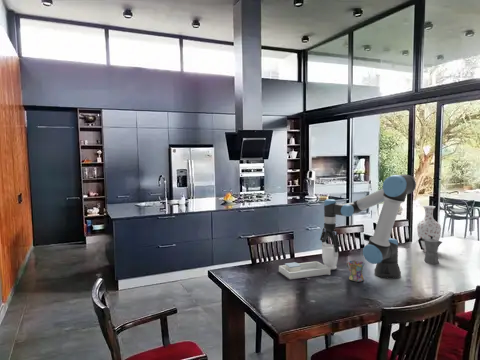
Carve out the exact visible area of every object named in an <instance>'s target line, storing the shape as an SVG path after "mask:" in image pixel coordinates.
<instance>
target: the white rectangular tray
mask: <svg viewBox="0 0 480 360" xmlns="http://www.w3.org/2000/svg"><path fill="white" fill-rule="evenodd" d="M297 263H298V262H297ZM298 264H299V265H301V267H300V271H298V272H289V271H288V270H286V269H285V264H283V265H278V272H279V273H280V274H281V275H283V276H284V277H286V278H287V279H288V280H296V279H302V278H310V277H317V276H318V277H319V276H323V275H324V276H325V275H328V276H331V269H330V268H329V267H327V266H326V265H324V263H321V262H319V261H308V262H301V263H298Z"/></svg>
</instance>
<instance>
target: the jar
mask: <svg viewBox="0 0 480 360" xmlns="http://www.w3.org/2000/svg"><path fill="white" fill-rule="evenodd" d="M322 247H323V250H322V249H321V257H322V262H323V263H322V264H324V265H326V266H327V267H329V268H330V270H336V269H337V264H338V260H339V253H338V254H337V257H333V247H334V245H333V243H326V244H324V245H321V248H322Z"/></svg>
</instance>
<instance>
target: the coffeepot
mask: <svg viewBox="0 0 480 360" xmlns="http://www.w3.org/2000/svg"><path fill="white" fill-rule="evenodd" d="M430 237H431V239H424V238H420V239H419V238H418V239H417V243H418V245H419V249H420V250H421V251H422V250H424V249H423V248H422V245H421V241H425V247H426V252H424V253H425V255H424V258H423V259H424V262H425V263H427V264H439V255H438V249H439V247H440V246H441V244H442V243H443V241H441V240H440V239H439V240H436V239H433V236H430Z"/></svg>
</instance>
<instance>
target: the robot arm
mask: <svg viewBox="0 0 480 360" xmlns="http://www.w3.org/2000/svg"><path fill="white" fill-rule="evenodd" d="M416 187H417V181H416V180H415V178H414V177H413V176H412V175H411V174H410V175H409V174H405V173H404V174H393V175H390V176H387V177H386V178H385V179H384V181H383V184H382V188H380V189H379V190H377V191H374V192H372V193H370V194H367V195H366V196H364V197H361V198H359V199H356V200H354V201H352V202H348V203H338V202H337V200H336V199H333V198H332V199H329V198H328V199H325V200H324V204H323V205H324V206H323V210H324V211H323V213H324V215H323V222H324V224H323V228H322V232H321V235H320V239H319V240H320V241H321V244H322V245H324V244H327V240H328V238H330V239H331V242H332V244H333V245H334V247H333V257H337V254H338V255H339V247H341V245H340V241H339V240H340V239H339V236H338V232H337V231H335V230H336V227H337V225H336V224H337V223H336V222H337V221H336V220H337V219H336V218H337V216H340V217H341V216H343V217H352V215H355V214H359V213H361V212H363V211H364V210H365V211H366V210H367V209H369V208H372V207H374V206H377V205H379V204H382V203H383V204H382V207H381V210H380V213H379V217H378V220H377V222H376V226H375V230H374V232H373V236H370V237H369V240H368V243H367V244H365V246H364V247H363V249H362V255H363V258H364V259H365V260H366V262H367V263H370V264H371V265H375V264H376V265H375V267H374V275H375V276H377V277H379V278H383V279H399V278H402V271H401V269H400V265H399V258H398V257H399V251H398V250H399V243H398V242H399V240H397V239H396V238H391V234H392V231H393V228H394V225H395V222H396V219H397V216H398V214H399V210H400V207H401V205H402V203H404V202H405V201H406V199H407V196H408V195H409V194H412V193H413V192H414V191H415V190H416ZM322 245H321V251H322V250H323V247H322Z"/></svg>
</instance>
